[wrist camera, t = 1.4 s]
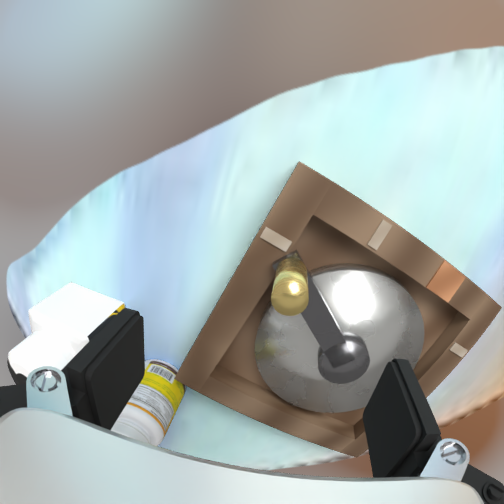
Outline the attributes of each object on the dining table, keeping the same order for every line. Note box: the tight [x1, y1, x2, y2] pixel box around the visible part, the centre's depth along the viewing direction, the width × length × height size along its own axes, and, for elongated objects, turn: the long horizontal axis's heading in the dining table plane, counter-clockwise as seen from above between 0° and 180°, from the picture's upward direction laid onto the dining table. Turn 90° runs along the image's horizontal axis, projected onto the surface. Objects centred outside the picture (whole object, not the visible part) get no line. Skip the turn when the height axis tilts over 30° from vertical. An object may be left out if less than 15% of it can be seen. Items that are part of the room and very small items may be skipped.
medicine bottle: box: [8, 282, 125, 385], centre depth 24 cm, size 7×7×12 cm
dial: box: [255, 250, 424, 413], centre depth 21 cm, size 16×14×7 cm
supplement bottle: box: [111, 359, 186, 446], centre depth 26 cm, size 6×6×10 cm
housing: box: [174, 162, 502, 457], centre depth 25 cm, size 21×21×3 cm
